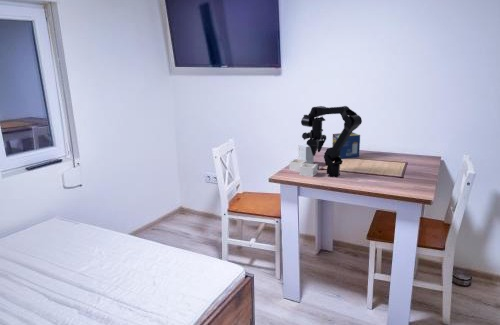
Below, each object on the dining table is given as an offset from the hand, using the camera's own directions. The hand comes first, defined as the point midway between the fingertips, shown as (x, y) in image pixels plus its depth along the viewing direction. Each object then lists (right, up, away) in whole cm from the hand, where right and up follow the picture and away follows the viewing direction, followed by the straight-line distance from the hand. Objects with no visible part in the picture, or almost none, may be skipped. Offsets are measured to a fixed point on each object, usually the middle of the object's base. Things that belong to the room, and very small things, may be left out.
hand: (316, 153), depth 221 cm
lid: (0, -11, +3) cm, 11 cm away
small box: (-4, -7, +15) cm, 17 cm away
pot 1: (-10, -10, +4) cm, 15 cm away
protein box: (+26, -1, +34) cm, 43 cm away
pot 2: (-6, -13, -6) cm, 15 cm away
